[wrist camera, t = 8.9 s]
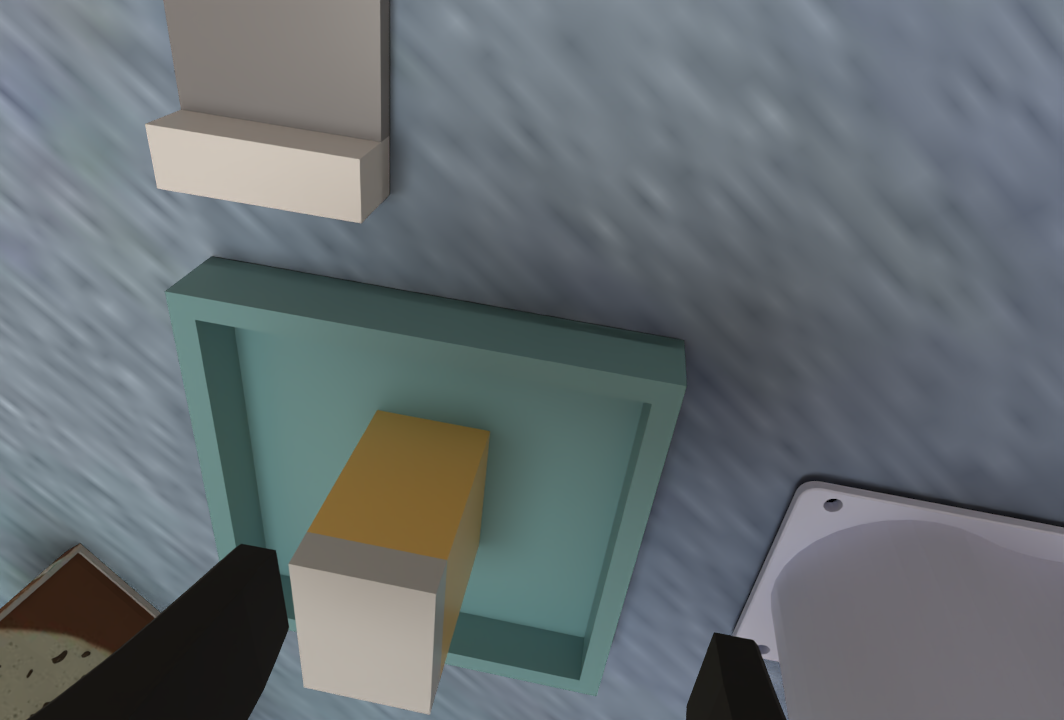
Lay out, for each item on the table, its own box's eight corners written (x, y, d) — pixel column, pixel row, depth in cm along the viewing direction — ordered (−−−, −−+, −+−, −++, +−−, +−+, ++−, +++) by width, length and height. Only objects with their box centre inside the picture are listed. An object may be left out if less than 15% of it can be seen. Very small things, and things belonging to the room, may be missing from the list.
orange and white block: (490, 431, 21) (435, 594, 16) (478, 544, 23) (429, 714, 18) (377, 410, 21) (288, 563, 16) (379, 525, 24) (303, 687, 19)
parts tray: (684, 340, 19) (686, 386, 17) (600, 641, 26) (596, 696, 24) (211, 256, 20) (165, 291, 18) (260, 570, 27) (231, 617, 25)
